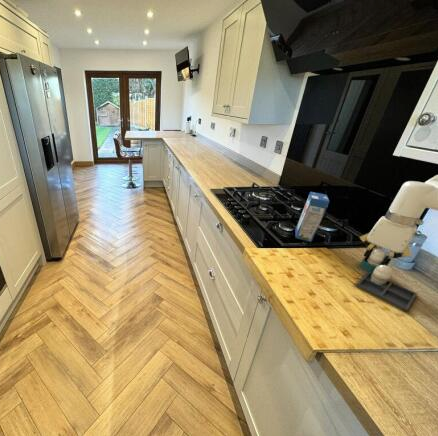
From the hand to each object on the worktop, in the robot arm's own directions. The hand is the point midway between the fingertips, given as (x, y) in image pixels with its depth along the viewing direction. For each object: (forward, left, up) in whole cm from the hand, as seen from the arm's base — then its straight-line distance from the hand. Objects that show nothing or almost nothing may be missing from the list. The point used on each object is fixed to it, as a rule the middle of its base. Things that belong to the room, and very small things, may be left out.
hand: (374, 261), depth 87 cm
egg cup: (0, 0, -4) cm, 4 cm away
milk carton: (+26, -4, -4) cm, 27 cm away
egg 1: (0, 0, -2) cm, 2 cm away
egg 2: (-4, +8, -3) cm, 10 cm away
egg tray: (-7, +11, -4) cm, 14 cm away
